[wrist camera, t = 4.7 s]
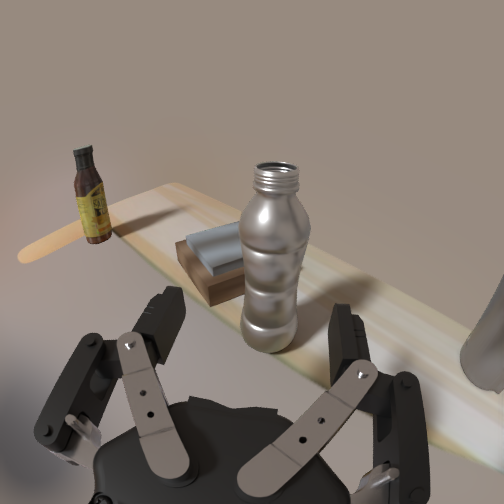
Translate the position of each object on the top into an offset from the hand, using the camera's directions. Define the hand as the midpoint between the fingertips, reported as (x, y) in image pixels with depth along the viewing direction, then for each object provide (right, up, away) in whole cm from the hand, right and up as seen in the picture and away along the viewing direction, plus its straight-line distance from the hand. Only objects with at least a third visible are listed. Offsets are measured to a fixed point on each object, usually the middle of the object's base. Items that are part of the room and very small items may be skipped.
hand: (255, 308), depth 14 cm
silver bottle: (+2, -7, +18) cm, 19 cm away
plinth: (-4, 0, +30) cm, 30 cm away
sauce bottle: (-32, +6, +39) cm, 51 cm away
